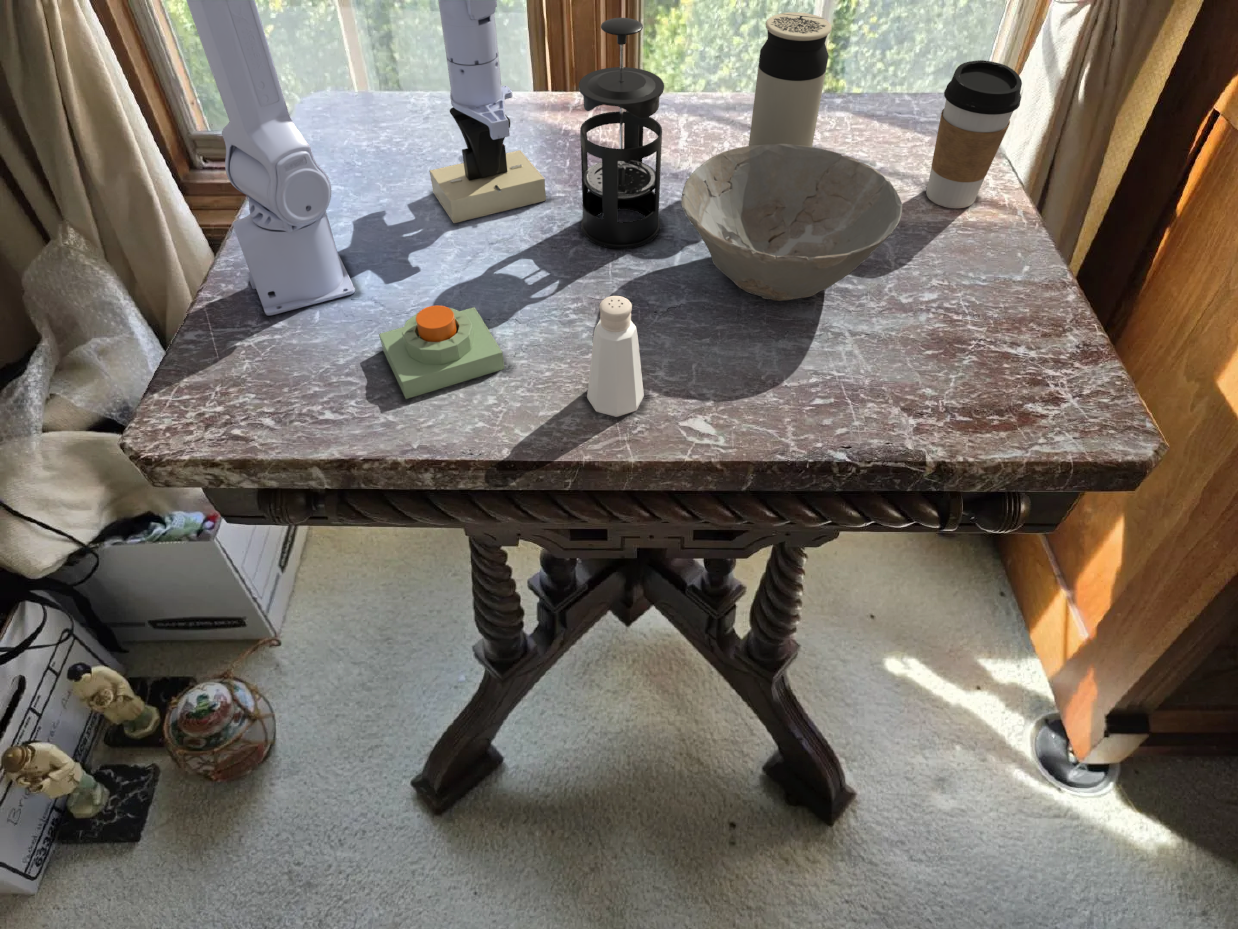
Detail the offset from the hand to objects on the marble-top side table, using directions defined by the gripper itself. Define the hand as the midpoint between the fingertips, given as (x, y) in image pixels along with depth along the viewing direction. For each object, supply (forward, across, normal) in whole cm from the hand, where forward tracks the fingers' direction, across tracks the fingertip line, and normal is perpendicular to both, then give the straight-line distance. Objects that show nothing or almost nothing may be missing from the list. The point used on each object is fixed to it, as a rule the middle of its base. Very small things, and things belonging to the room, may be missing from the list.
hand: (486, 170), depth 103 cm
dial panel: (+3, 0, 0) cm, 3 cm away
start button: (0, -28, +15) cm, 31 cm away
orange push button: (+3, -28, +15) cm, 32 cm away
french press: (+4, -13, -12) cm, 18 cm away
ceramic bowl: (+4, -30, -23) cm, 38 cm away
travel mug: (+4, -10, -36) cm, 38 cm away
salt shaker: (+4, -40, +2) cm, 40 cm away
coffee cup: (+4, -25, -52) cm, 58 cm away
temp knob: (0, 0, 0) cm, 0 cm away
